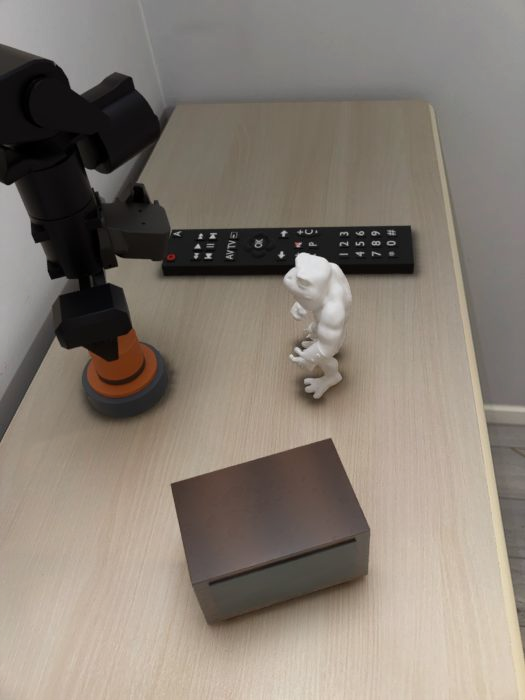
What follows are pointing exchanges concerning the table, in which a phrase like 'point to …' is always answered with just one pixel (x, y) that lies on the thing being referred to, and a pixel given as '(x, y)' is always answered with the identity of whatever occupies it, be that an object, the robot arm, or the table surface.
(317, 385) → the figurine
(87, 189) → the robot arm
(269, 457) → the brown lidded box
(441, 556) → the table surface
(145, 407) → the stand
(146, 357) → the orange top hat
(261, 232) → the remote control
